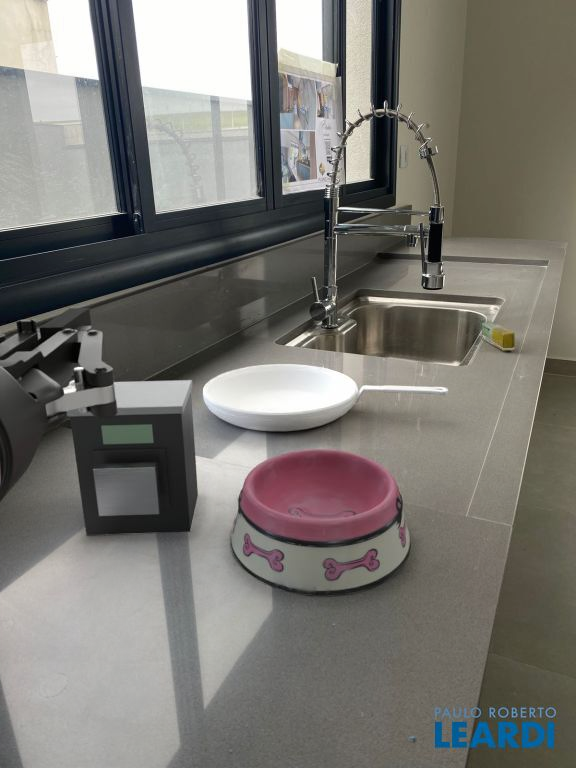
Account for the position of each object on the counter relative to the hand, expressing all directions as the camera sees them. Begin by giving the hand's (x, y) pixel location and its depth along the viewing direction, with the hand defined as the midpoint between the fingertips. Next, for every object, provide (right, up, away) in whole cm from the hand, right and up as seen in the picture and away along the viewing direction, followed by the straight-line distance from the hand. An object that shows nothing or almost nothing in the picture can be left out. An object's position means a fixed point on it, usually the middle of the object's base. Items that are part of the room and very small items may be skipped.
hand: (81, 325), depth 46 cm
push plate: (0, -17, +14) cm, 23 cm away
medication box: (+63, +4, +89) cm, 109 cm away
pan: (+22, -9, +52) cm, 57 cm away
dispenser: (0, -19, +22) cm, 29 cm away
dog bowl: (+19, -21, +16) cm, 33 cm away
